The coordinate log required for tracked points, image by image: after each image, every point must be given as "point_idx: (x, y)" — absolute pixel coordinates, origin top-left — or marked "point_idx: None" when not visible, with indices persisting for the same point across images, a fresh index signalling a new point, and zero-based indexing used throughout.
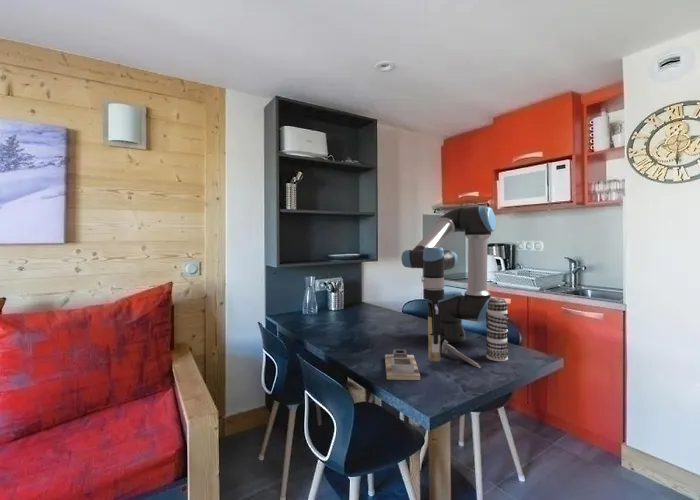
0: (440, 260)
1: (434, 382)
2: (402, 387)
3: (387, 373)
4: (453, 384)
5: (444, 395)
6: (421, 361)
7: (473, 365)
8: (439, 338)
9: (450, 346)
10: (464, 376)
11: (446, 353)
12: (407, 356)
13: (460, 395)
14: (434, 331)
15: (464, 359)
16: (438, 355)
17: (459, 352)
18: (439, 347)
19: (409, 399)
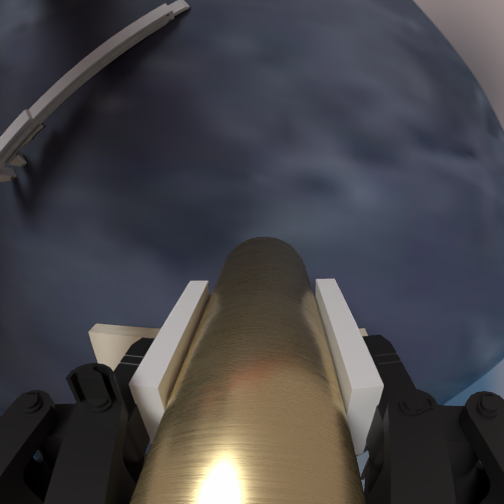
0: None
1: (392, 269)
2: (415, 385)
3: None
4: (416, 182)
5: (495, 247)
6: (123, 294)
7: (157, 29)
8: (309, 335)
9: (7, 139)
10: (315, 96)
11: (23, 158)
12: (116, 361)
13: (499, 184)
14: (483, 477)
15: (102, 67)
16: (304, 269)
17: (53, 89)
18: (302, 285)
19: (489, 359)
